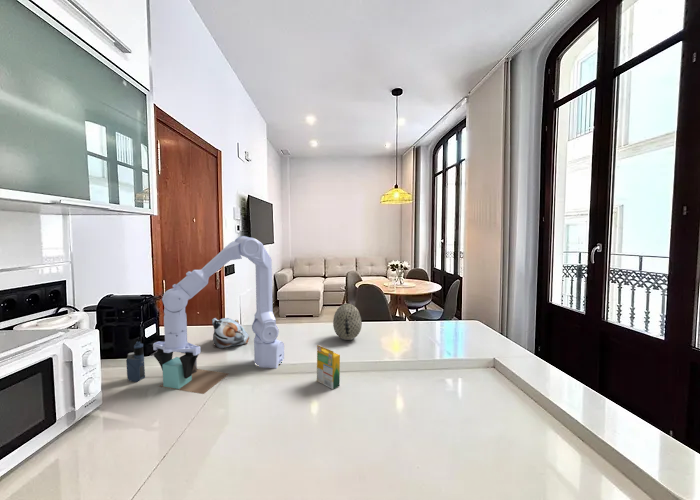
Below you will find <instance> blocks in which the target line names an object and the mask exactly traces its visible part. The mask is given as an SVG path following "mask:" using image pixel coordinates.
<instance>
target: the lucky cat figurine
mask: <svg viewBox="0 0 700 500" xmlns="http://www.w3.org/2000/svg"><path fill="white" fill-rule="evenodd" d="M211 321H212V322H211V323H212V326H213V327H212V328H213V334H212V340H213V342H212V343H213V345H214V346H215V347H216V346H217V347H216V348H218V347H219V349H221V348H222V349H225V348H228V347H233V346H240V345H246V344H248V342H249V339H250V335H249V334H248V332H247V331H246V330H245V328H244V327H243V326H242V325H241V324H240V323H239V320H238V319H235V320H234V319H232V318H229V317H223V318H221V319H218V318H217V317H214V318H212V319H211ZM224 347H225V348H224Z"/></svg>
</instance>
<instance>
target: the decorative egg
mask: <svg viewBox="0 0 700 500" xmlns="http://www.w3.org/2000/svg"><path fill="white" fill-rule="evenodd" d="M332 319H333V322H332V323H333V330H334V333H335V334H336V336H337V337H338V338H339V339H342V340H343V341H344V340H345V341H351V340H353V339H355V338H356V337H358V335H359V334H360V332H361V330H362V324H363V323H362V321H363V320H362V316H361V314H360V311H359V309H358V308H357V307H356V306H355V305H353V304H352V303H343V304H341V305H340V306H339V307H338V308H337V309H336V311H335V312H334V315H333V318H332Z"/></svg>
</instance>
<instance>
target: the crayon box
mask: <svg viewBox="0 0 700 500" xmlns="http://www.w3.org/2000/svg"><path fill="white" fill-rule="evenodd" d="M340 368H341V354H338V353H337V352H334V351H333V350H331V349H329V348H327V347H324V346H322V345H318V344H317V345H316V382H318V383H320V384H322V385H324V386H326V387H328V388H329V389H331V390H334V389H337V388H338V387H340V379H341V378H340V377H341V376H340V375H341V369H340Z"/></svg>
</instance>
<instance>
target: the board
mask: <svg viewBox="0 0 700 500" xmlns="http://www.w3.org/2000/svg"><path fill="white" fill-rule="evenodd" d="M229 375H230V373H228V372H220V371H215V370H209V369H208V370H207V369H200V368H197V372H196V373H193V374H192V380H191V381H190V382H188V383H187V384H185V385H184V386H183V387H181V388H180V389H175V388H169V387H163V383H162V384H160V385H158V386H157V387H159V388H165V389H171V390H177V391H183V392H188V393H197V394H202V395H205V394H206V393H207V392H208V391H210V390H211V389H212V388H214V387H215V386H216V385H217V384H218V383H220V382H221V381H222V380H224V379H225V378H226V377H228V376H229Z"/></svg>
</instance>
